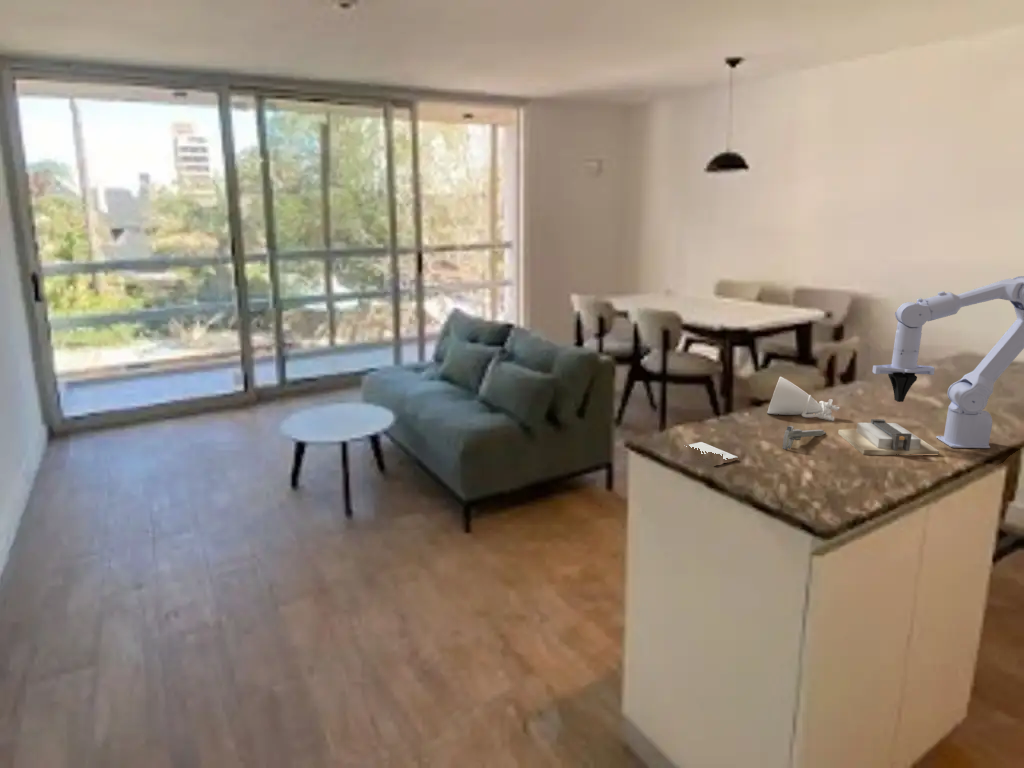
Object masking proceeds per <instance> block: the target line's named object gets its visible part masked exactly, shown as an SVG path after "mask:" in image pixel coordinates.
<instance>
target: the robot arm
mask: <svg viewBox="0 0 1024 768" xmlns="http://www.w3.org/2000/svg"><path fill="white" fill-rule="evenodd" d="M993 300H1004V301H1009V302H1010V303H1011V304H1012V306H1013V308H1014V311H1015V312H1014V313H1015V315H1016V319H1015V321H1014V322H1013V323H1012V325H1010V326H1009V328H1008V329H1007V330H1006V331H1005V333H1004V334H1003V335H1002V336H1001V337H1000V338H999V340H998V341H997V342H996V343H995V344H994V346H993V347H992V348H991V349H990V350H989V352H988V353H987V354H986V355H985V356H984V357H983V359H981V361H980V362H979V363H978V364H977V366H976V367H975V368H974V369H973V370H971V371H970V372H968V373H966V374H964V375H963V376H962V378H960V379H959V380H957V381H955V382H953V383H951V384H950V386H949V387H948V389H947V397H948V399H949V400H950V404H949V405H948V408H947V414H946V420H945V427H944V433H943V435H937V436H935V437H936V439H937V438H938V440H939V441H940V442H942V443H944V444H946V445H947V446H948V447H950V448H953V449H954V448H957V449H958V448H961V449H962V448H963V449H990V448H991V446H990V445H989V444H990V439H991V434H992V428H993V418H992V415H991V413H990V412H989V411H987V410H985V408H986V407H987V404H988V401H989V399H990V397H991V396H992V394H993V393H994V386H995V383H996V382H997V380H998V379H999V378H1000V377H1001V375H1002V374H1003V373H1004V372H1005V371H1006V370H1007V369H1008V367H1009V366H1010V365H1011V364H1012V363H1013V361H1014V360H1016V358H1017V357H1018V356H1019V355H1020V354H1021V352H1023V351H1024V276H1023V275H1021V276H1016V277H1013V278H1005V279H1001V280H999V281H995V282H992V283H989V284H986V285H982V286H981V287H978V288H977V287H976V288H973V289H971V290H967V291H965V292H962V293H958V294H955V293H952V292H950V291H948V292H945V291H938V292H937V295H933V296H930V297H926V298H921V297H920V298H917V299H916V302H914V301H907V302H903V303H902V304H901V305H900V306H899V307H898V308H897V310H896V311H895V313H894V316H895V319H896V321H897V325H896V331H895V336H894V344H893V350H892V357H891V364H881V365H880V364H879V365H878V364H876V365H872V374H874V375H880V374H881V375H884V374H885V375H888V378H889V380H890V383H891V386H892V390H893V396H894V398H893V399H894V401H896V402H898V403H904V401H905V399H906V396H907V394H908V392H909V390H910V389H911V387H912V386H913V385H914V384H915V382H916V381H918V376H917V375H929V376H934V375H935V370H936V368H935V367H934V366H932V365H921V364H920V365H918V359H919V354H920V346H921V340H922V334H923V333H922V330H923V326H924V325H925V324H926V322H932V321H934V320H939V319H942V318H946V317H949V316H953V315H956V314H958V312H959V310H961V308H964V307H969V306H972V305H977V304H980V303H984V302H989V301H993Z"/></svg>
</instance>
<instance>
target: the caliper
mask: <svg viewBox="0 0 1024 768" xmlns="http://www.w3.org/2000/svg"><path fill="white" fill-rule="evenodd" d="M794 428H795V427H794V426H792V425H787V426H786V429H785V431H784V434H783V438H782V439H783V440H782V441H783V442H782V450H785V449H786V451H787V450H788V448H789V450H790V448H792V446H793V443H794V440H795V441H801V438H806V437H807V438H809V437H819V436H823V435H824V434H825V435H826V431H825V430H824V429H808V430H807V429H805V430H803V429H799V428H798V429H794Z"/></svg>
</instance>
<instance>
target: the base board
mask: <svg viewBox="0 0 1024 768" xmlns="http://www.w3.org/2000/svg"><path fill="white" fill-rule="evenodd" d="M873 422H886V420H885V419H882V418H881V419H880V418H872V419H870V422H857V424H856V429H838V433H837V434H838V435H839V436H840V437H842V439H844V440H845V441H846V442H847V443H849V444H850V445H851V446H853V448H854V449H856V450H857V451H858V452H859V453H860V454H862V455H863V456H864V455H866V456H868V455H873V456H875V455H876V456H899V455H898V454H939V455H940V450H938V449H937V448H936V447H934V446H932V445H931V444H929V443H928V442H926V441H924V440H923V439H922V438H920V437H919V436H917V435H915V434H914V433H913V432H911V431H909V430H908V429H906V428H904V427H903V426H901V425H900V424H898V423H897V422H886V423H887V424H889V425H890V426H892V427H893V428H895V429H896V430H898V431H899V432H901V433H896V434H893V435H892V437H891V436H890V435H888V434H887V433H885V432H884V431H882V430H881V429H880V428H878V427H877V426H875V425H874V424H873ZM899 436H904V437H905V439H904V440H899ZM896 454H897V455H896Z"/></svg>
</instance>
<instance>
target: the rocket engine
mask: <svg viewBox="0 0 1024 768" xmlns="http://www.w3.org/2000/svg"><path fill="white" fill-rule="evenodd" d="M833 401H834V400H833V399H832V398H829V399H828V401H827V402H826V401H824V400H820V401H817V400H816V399H814V397H812V394H808V393H807V392H806V391H805V390H803V389H802V388H800V387H799V386H797V385H796V384H794V383H793V382H791V381H790V380H788V379H787V378H785V377H782V376H781V375H780V376H779V378H778V381H777V383H776V386H775V388H774V391H773V394H772V397H771V400H770V402H769V406H768V408H767V409H768V410H767V411H766V413H767V414H769V415H770V414H771V415H778V414H779V416H780V415H782V416H798V415H800V416H801V417H803V418H810V419H811V418H812V419H813V418H818V419H821V420H827V421H829V422H834V421H835V415H832V413H833V410H834V411H839V410H840V406H839V405H835V404H833Z"/></svg>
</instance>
